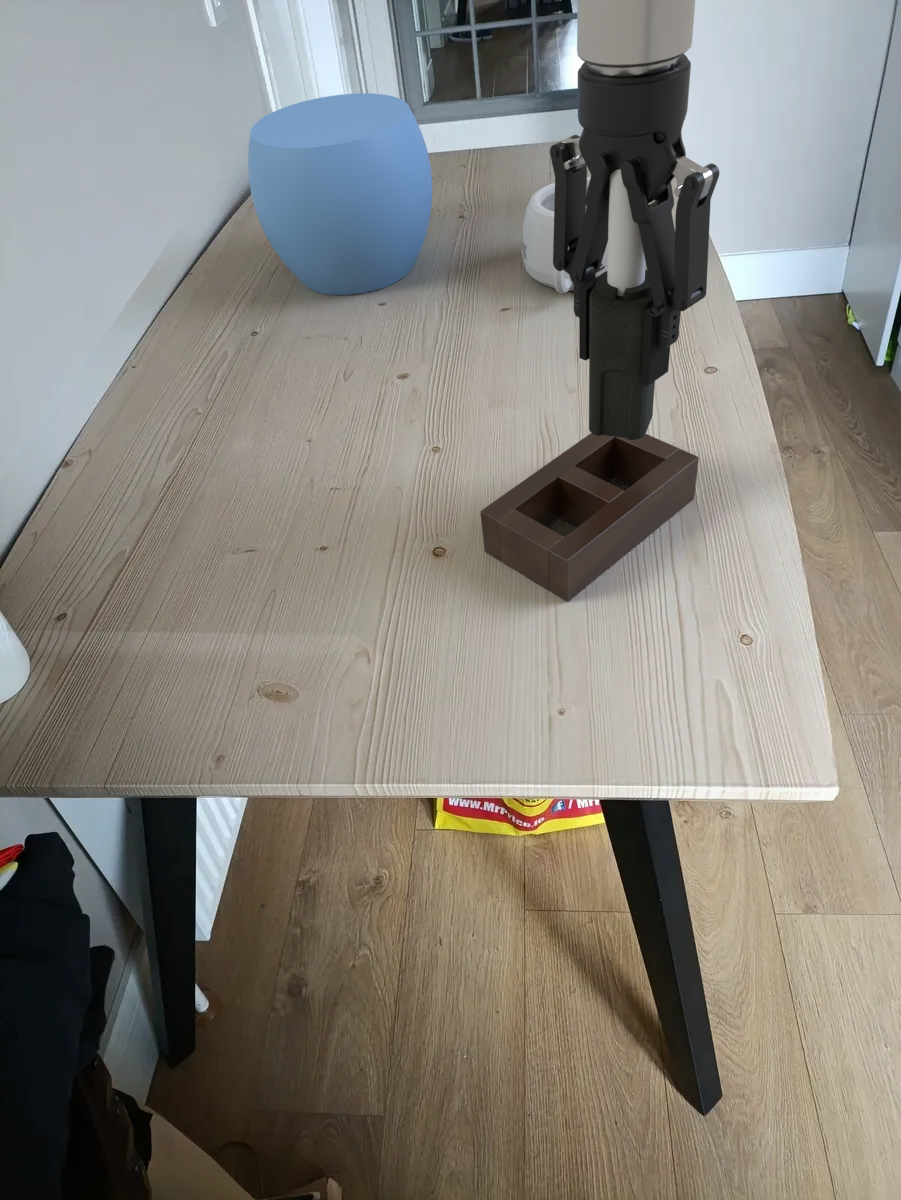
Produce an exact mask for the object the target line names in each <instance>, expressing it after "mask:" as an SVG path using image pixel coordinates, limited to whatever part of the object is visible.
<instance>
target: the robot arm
mask: <svg viewBox="0 0 901 1200" xmlns="http://www.w3.org/2000/svg"><path fill="white" fill-rule="evenodd" d="M576 2H577V5H576V6H577V7H576V9H577V14H576V19H577V20H576V54H577V57H579V59H580V60H581V61H583V63H582V64H581V65H580V67H579V69H578V70H577V120H578V123H579V125H580V126H581V128H583V129H582V132H581V134H580V136H579V135H578V134H573V135H571V136H569V137H567V138H565V139H563V140H560V141H558V142H556V143H554V144H552V145H551V146H550V148H549V156H550V160H551V161H550V162H551V165H552V169H553V174H554V183H555V201H554V241H553V265H554V267H555V269H556V270H558V271H562V270H564V271H565V272H567V273H568V274H569V275H570V279H571V281H572V282H573V284H574V291H573V312H574V316H575V317H576V318H578V321H579V323H578V337H579V339H578V343H579V344H578V345H579V348H578V353H579V354H578V355H579V359H581V360H583V361H585V362H586V361H589V324H590V294H591V292H592V290H593V289H594V287H595V285H596V283H597V279H598V277H599V276H600V275H599V276H598V277H596V273H598V272H599V271H601V270H603V269H604V268H605V266H603V267H601V266H602V265H603V264H601V263H602V260H603V256H604V253H605V249H606V246H607V242H608V224H609V195H610V175H611V174H612V173H613V172H614V171H615V170H619V169H620V170H621V176H622V181H623V185H624V186H625V188H626V189H627V194H628V199H629V204H630V209H631V214H632V219H633V221H634V222H635V223H637V224H638V226H639V231H640V236H641V241H642V246H643V251H644V256H645V262H646V264H645V268H646V270H647V272H648V277H649V282H650V287H651V293H652V298H653V303H654V304H653V305H652V306H650V307H648V308H647V309H645V314H644V333H643V352H642V371H641V383H643V384H645V385H650V384H651V383H653V382H654V381H655V382H656V381H657V380H658V379H660V378H661V377H663V376H664V375H666V374H667V373H668V372H669V365H670V353H671V346H672V345H674V344H675V343H676V342H677V340H678V339H679V336H680V324H681V315H682V314H681V313H682V312H684V311H686V310H688V309H689V308H691V307H692V306H694V305H695V304H697V303H699V302H700V301H701V300H703V299H704V298H705V297H706V296H707V286H708V285H707V283H708V268H709V267H708V266H709V265H708V264H709V263H708V262H709V246H710V245H709V244H710V243H709V242H710V221H711V202H712V201H711V200H712V197H713V194H714V192H715V189H716V186H717V184H718V181H719V178H720V169H719V167H718V166H717V165H716V164H715V163H708V164H706V165H705V166H701V165H700V164H699V163H697V162H695V161H693V160H692V159H690V158H689V157H687V151H686V148H685V144H684V140H683V137H682V136H683V135H682V130H683V126H684V123H685V120H686V117H687V113H688V108H689V107H688V106H689V95H690V94H689V93H690V81H691V68H692V62H691V60H690V59H689V57H688V55H686V54H687V52H688V51H689V50H690V49H691V47H692V45H693V36H694V23H695V10H696V0H577V1H576ZM588 171H589V173H590V177H591V178H590V182H589V186H588V190H587V194H586V187H587V177H588ZM674 178H675V179H676V187H675V189H674V191H673V186H672V181H673V180H674ZM674 195H675V197H678V198H677V203H676V208H675V224H674V218H673V208H674V206H675V198H674ZM648 203H649V205H648ZM586 205H587V209H586V212H585V207H586ZM568 247H569V250H568ZM600 267H601V268H600Z"/></svg>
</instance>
